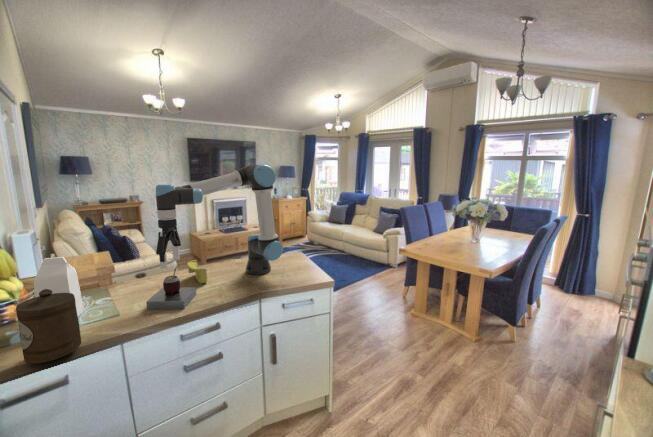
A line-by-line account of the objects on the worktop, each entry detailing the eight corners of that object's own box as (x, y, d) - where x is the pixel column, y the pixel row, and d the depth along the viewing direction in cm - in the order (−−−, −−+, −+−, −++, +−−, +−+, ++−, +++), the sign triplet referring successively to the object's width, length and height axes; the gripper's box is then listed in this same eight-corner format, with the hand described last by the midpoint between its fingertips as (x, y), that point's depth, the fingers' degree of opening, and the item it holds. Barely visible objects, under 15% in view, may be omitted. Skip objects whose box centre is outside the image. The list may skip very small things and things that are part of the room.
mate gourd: (164, 291, 145) (162, 261, 143) (183, 289, 148) (181, 259, 146) (163, 297, 138) (160, 266, 136) (182, 295, 141) (180, 264, 139)
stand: (196, 294, 152) (195, 287, 151) (184, 309, 136) (183, 300, 136) (163, 295, 151) (162, 287, 150) (147, 310, 135) (146, 301, 134)
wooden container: (28, 347, 106) (18, 287, 102) (82, 334, 115) (75, 279, 111) (19, 370, 94) (8, 303, 91) (80, 353, 103) (72, 292, 99)
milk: (37, 326, 120) (27, 263, 116) (49, 314, 130) (41, 255, 126) (74, 321, 125) (66, 260, 121) (83, 309, 135) (77, 252, 131)
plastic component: (207, 284, 166) (206, 266, 165) (192, 286, 162) (191, 269, 160) (197, 274, 182) (196, 258, 181) (184, 276, 178) (183, 260, 176)
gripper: (170, 214, 149) (173, 256, 152) (144, 223, 125) (148, 272, 128) (186, 214, 150) (188, 256, 153) (163, 223, 125) (167, 272, 129)
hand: (170, 263), depth 140 cm, fingers open, 13 cm apart
